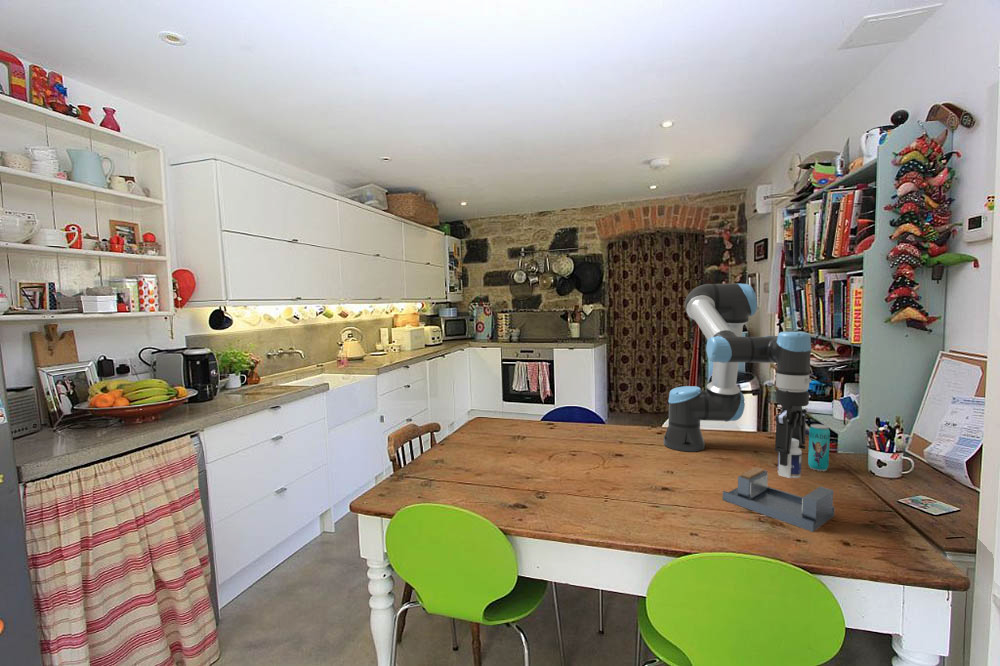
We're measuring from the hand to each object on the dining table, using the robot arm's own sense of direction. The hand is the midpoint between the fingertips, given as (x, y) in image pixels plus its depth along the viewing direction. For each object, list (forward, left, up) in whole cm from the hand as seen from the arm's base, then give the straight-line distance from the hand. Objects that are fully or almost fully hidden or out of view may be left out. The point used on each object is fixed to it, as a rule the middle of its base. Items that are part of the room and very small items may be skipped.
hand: (789, 473), depth 124 cm
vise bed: (-3, 0, -11) cm, 11 cm away
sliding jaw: (-9, 0, -9) cm, 13 cm away
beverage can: (-8, +42, -11) cm, 44 cm away
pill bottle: (0, 0, -1) cm, 1 cm away
